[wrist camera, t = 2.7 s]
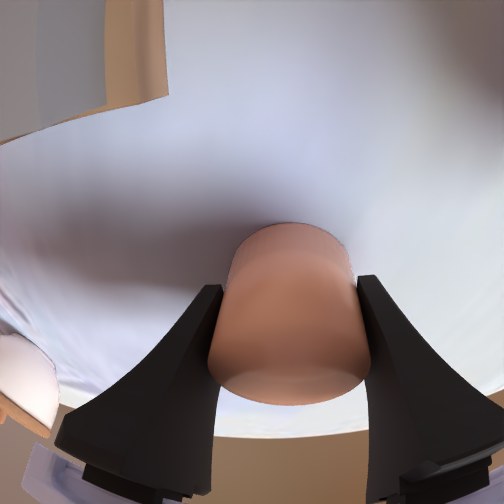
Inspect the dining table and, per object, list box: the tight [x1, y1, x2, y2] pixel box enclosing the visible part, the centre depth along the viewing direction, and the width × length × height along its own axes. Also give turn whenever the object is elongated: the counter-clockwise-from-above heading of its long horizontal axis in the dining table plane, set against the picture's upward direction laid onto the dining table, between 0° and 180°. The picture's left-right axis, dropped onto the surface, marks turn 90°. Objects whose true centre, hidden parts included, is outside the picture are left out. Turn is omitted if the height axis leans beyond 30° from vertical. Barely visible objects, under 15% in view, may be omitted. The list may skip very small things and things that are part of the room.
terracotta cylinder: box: [207, 223, 371, 406], centre depth 10 cm, size 5×5×4 cm
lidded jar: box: [0, 333, 60, 438], centre depth 18 cm, size 11×11×9 cm
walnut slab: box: [0, 0, 169, 145], centre depth 5 cm, size 8×8×2 cm
